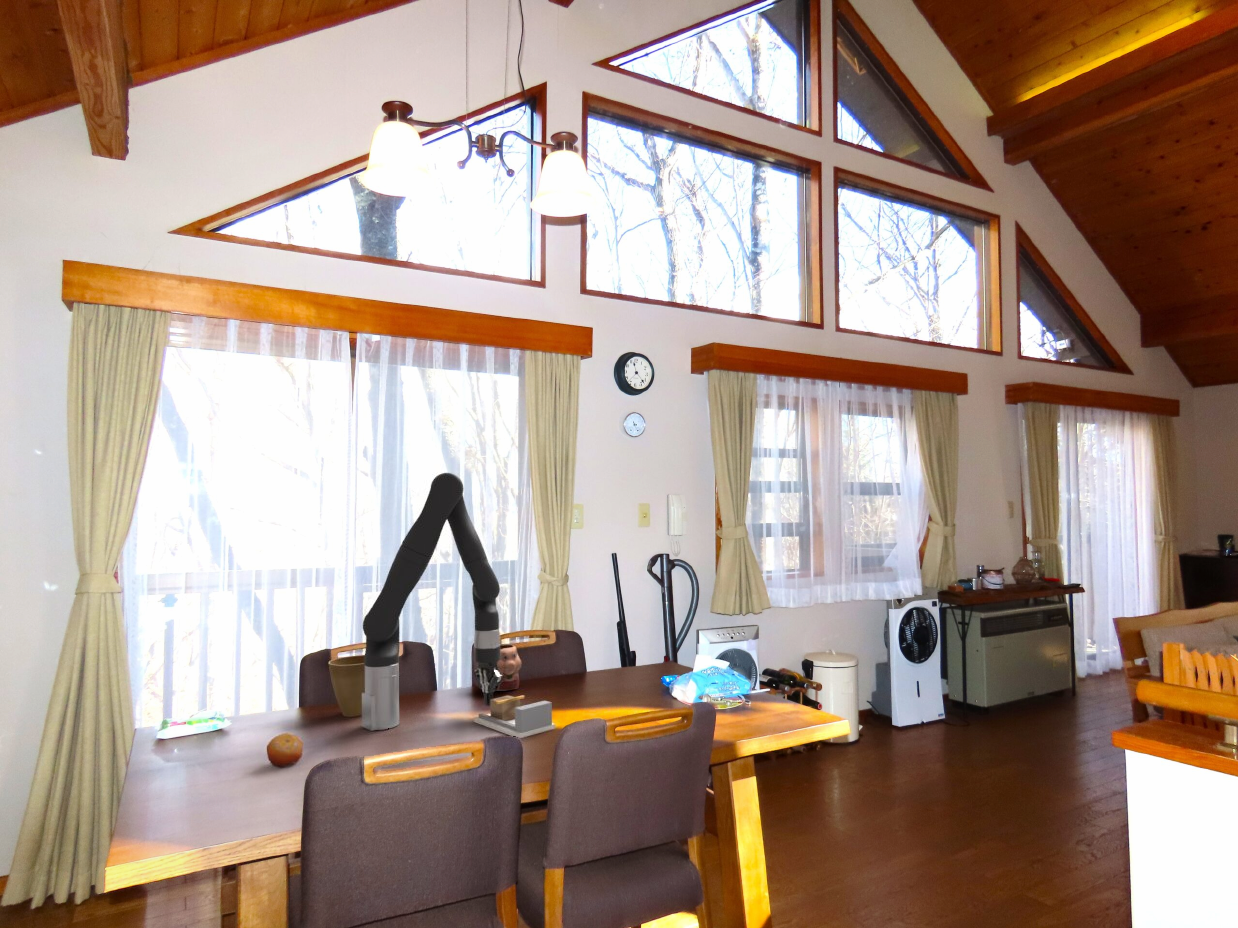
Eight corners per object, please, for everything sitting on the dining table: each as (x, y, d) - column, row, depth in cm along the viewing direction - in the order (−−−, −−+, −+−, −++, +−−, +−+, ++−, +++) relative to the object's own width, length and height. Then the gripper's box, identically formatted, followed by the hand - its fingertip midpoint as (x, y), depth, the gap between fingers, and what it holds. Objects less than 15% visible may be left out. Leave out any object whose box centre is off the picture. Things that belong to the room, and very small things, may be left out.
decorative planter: (472, 684, 260) (471, 643, 260) (504, 679, 267) (503, 639, 268) (498, 696, 244) (498, 652, 244) (532, 690, 251) (531, 647, 251)
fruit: (288, 749, 190) (296, 724, 188) (302, 771, 186) (310, 746, 184) (256, 758, 184) (264, 732, 182) (269, 781, 180) (278, 755, 177)
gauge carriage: (497, 722, 209) (497, 701, 210) (486, 718, 214) (485, 698, 214) (524, 715, 215) (524, 695, 216) (512, 711, 220) (512, 692, 220)
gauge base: (518, 738, 200) (518, 710, 200) (473, 721, 216) (473, 695, 216) (554, 728, 208) (554, 701, 208) (509, 712, 224) (508, 688, 224)
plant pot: (389, 706, 234) (388, 654, 235) (368, 720, 219) (368, 664, 220) (342, 706, 235) (342, 654, 236) (319, 720, 221) (319, 664, 221)
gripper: (464, 644, 224) (465, 703, 224) (488, 649, 215) (490, 711, 214) (486, 640, 230) (487, 698, 229) (510, 645, 220) (512, 706, 219)
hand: (488, 704), depth 221 cm, fingers closed
